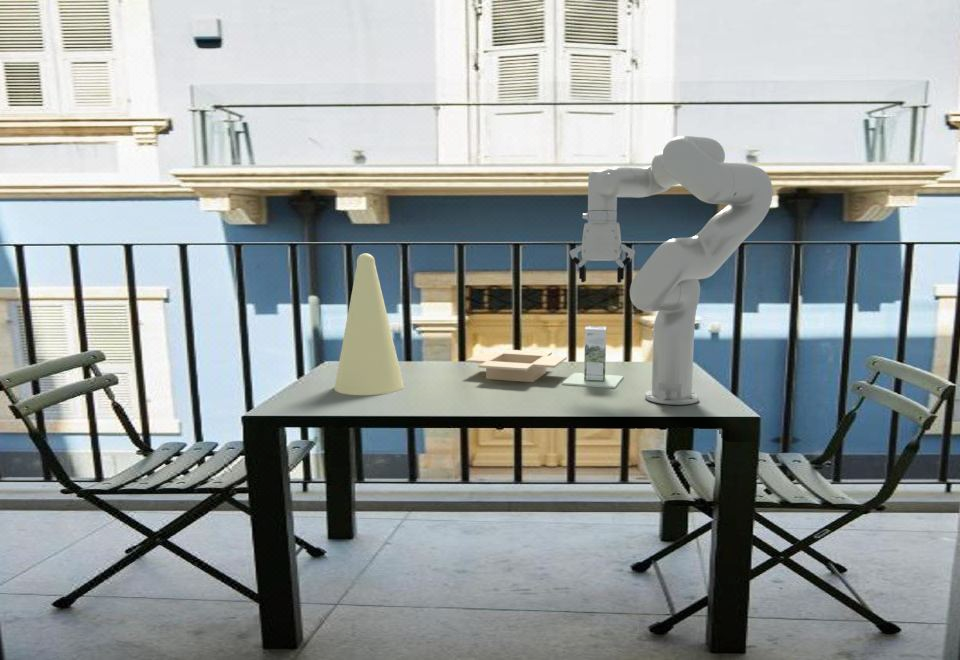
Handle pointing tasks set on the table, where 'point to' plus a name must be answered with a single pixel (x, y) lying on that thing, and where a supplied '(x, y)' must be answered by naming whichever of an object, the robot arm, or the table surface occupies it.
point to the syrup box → (595, 353)
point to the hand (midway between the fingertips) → (601, 282)
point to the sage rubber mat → (578, 380)
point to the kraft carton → (516, 364)
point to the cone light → (367, 339)
